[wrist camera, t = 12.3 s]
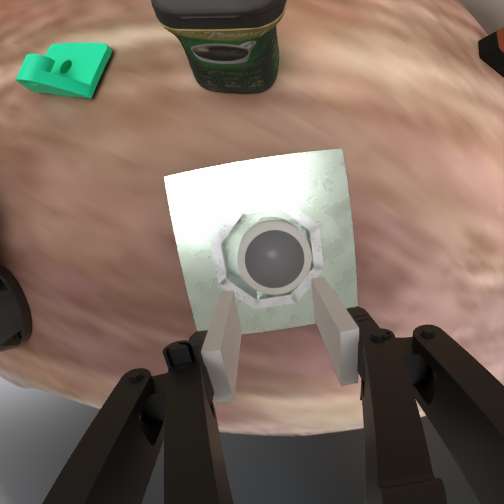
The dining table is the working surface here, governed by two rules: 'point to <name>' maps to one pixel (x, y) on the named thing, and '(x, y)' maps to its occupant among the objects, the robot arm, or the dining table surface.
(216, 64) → the coffee jar
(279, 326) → the grey-green flat square piece
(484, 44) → the battery
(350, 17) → the dining table surface
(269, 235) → the white short cylinder
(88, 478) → the robot arm
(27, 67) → the camera mount
